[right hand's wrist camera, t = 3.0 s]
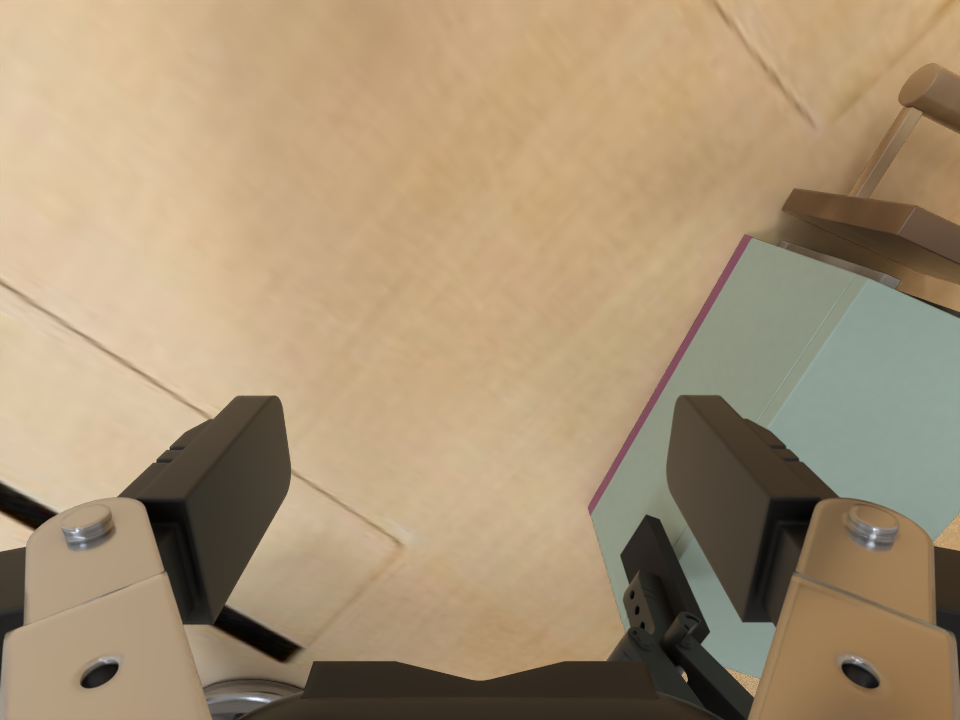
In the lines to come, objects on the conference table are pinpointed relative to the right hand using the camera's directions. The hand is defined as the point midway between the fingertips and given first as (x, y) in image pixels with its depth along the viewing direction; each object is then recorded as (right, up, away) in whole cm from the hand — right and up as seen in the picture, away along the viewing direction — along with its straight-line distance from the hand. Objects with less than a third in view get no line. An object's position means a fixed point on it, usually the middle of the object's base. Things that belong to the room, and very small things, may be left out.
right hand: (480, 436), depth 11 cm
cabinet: (+16, -2, +23) cm, 28 cm away
